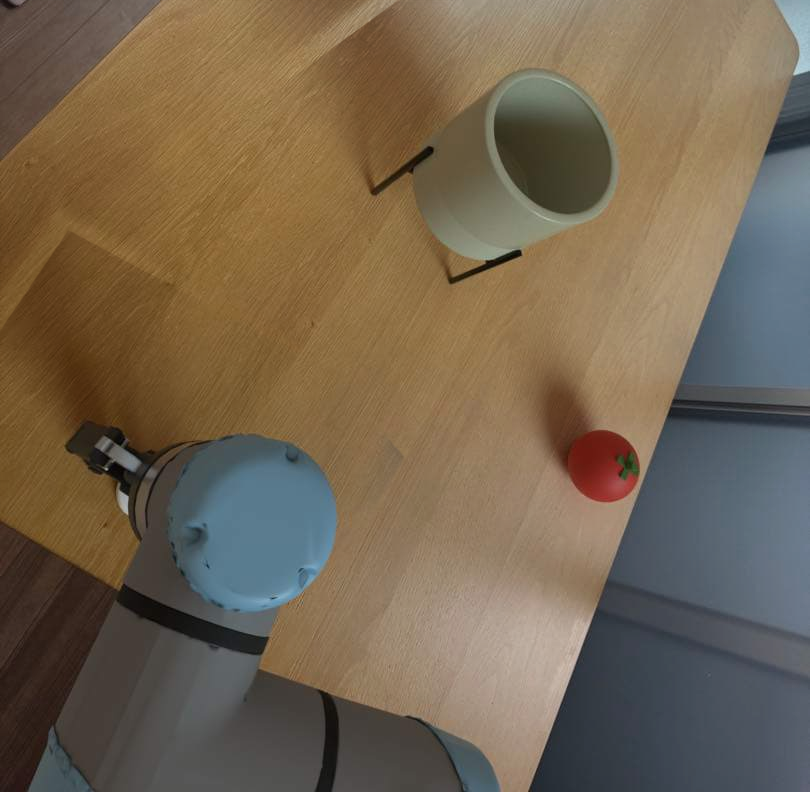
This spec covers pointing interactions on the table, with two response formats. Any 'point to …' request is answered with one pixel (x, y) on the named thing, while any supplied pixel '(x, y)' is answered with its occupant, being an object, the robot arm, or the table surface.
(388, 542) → the table surface
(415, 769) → the robot arm
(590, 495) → the tomato
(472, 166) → the planter
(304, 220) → the table surface
